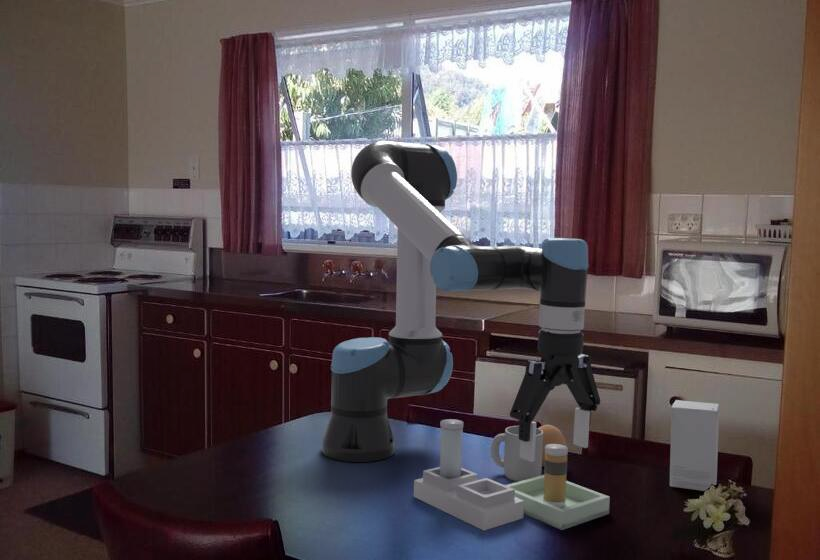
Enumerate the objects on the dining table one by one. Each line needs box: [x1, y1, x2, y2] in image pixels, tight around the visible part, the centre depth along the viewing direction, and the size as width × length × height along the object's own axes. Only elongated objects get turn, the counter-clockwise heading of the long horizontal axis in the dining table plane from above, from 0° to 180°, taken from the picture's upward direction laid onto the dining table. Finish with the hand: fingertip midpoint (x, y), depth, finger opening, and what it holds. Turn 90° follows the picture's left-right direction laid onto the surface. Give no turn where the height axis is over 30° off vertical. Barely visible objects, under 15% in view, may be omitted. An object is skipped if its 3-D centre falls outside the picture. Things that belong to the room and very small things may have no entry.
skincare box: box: [669, 399, 720, 492], centre depth 147 cm, size 8×7×16 cm
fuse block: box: [413, 418, 524, 532], centre depth 133 cm, size 18×9×14 cm, turn 38°
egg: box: [538, 424, 567, 468], centre depth 156 cm, size 7×7×8 cm
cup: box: [490, 425, 543, 482], centre depth 150 cm, size 7×10×9 cm
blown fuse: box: [543, 444, 569, 508], centre depth 133 cm, size 4×4×10 cm
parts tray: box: [504, 474, 611, 531], centre depth 134 cm, size 14×12×3 cm
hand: (554, 452), depth 133 cm, fingers open, 13 cm apart
